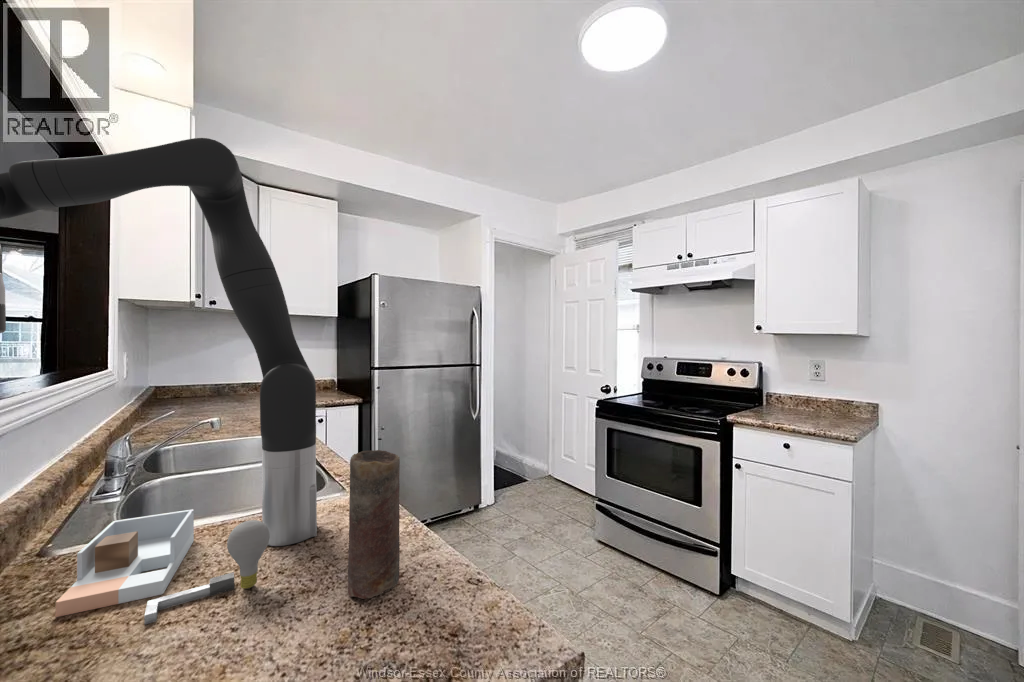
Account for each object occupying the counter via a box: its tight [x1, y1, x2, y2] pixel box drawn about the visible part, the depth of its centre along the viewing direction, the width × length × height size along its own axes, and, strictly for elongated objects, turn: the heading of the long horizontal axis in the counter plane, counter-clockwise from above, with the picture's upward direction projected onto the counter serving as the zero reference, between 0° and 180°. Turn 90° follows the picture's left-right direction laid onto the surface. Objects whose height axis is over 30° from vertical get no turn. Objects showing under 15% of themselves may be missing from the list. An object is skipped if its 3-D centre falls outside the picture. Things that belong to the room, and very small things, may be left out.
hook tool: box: [143, 572, 235, 626], centre depth 60 cm, size 10×4×2 cm, turn 126°
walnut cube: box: [95, 531, 138, 573], centre depth 67 cm, size 4×4×4 cm
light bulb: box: [226, 519, 270, 590], centre depth 63 cm, size 5×6×10 cm
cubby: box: [54, 508, 195, 618], centre depth 68 cm, size 12×19×6 cm, turn 26°
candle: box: [347, 449, 401, 600], centre depth 63 cm, size 8×7×20 cm
